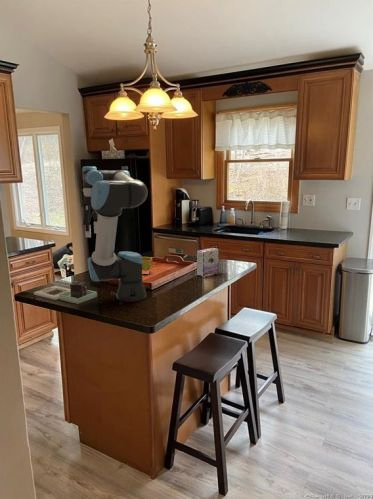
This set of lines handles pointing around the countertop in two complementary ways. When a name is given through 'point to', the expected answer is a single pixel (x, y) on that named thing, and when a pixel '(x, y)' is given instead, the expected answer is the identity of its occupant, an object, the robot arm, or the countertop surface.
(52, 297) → the socket block
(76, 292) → the box
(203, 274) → the candy box
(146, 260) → the plant pot
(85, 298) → the tray
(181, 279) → the countertop surface
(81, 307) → the countertop surface
